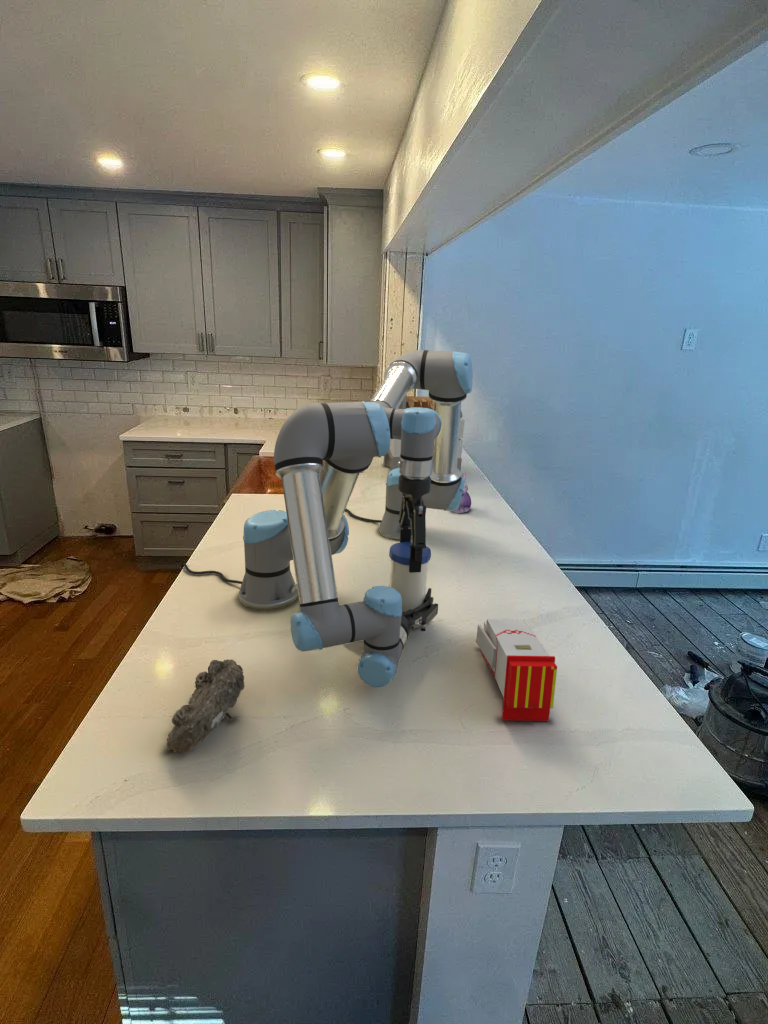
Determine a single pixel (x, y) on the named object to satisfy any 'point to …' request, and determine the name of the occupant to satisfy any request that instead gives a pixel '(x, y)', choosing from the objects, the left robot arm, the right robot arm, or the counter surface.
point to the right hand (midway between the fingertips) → (409, 562)
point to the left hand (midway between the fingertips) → (410, 590)
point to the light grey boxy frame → (395, 445)
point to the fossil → (206, 705)
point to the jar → (409, 584)
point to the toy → (519, 668)
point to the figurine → (464, 499)
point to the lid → (406, 553)
